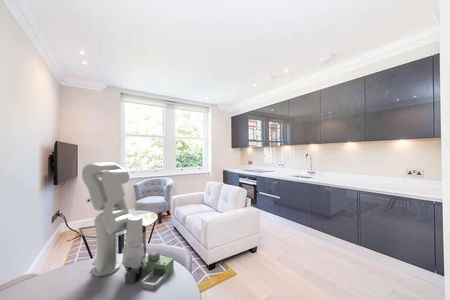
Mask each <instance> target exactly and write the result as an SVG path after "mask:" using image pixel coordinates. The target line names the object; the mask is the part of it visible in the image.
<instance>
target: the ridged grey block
mask: <svg viewBox="0 0 450 300" xmlns="http://www.w3.org/2000/svg"><path fill="white" fill-rule="evenodd" d="M139 269H140V268H139ZM136 273H137V271H136V268H132V269H131V270H129V271H128V272H127V271H126V273H124V284H127V285H130V286H131V285H132V286H133V285H134V284H135V283H136ZM143 274H144V273H143V270H142V271H141V278H142V277H143V276H144V275H143Z"/></svg>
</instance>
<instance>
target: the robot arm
mask: <svg viewBox="0 0 450 300" xmlns="http://www.w3.org/2000/svg"><path fill="white" fill-rule="evenodd" d="M81 178H82V181H83V183H84V185H85V187H86V188H87V190H88V193H89V196H90V201H91V203H92V207H93V209H94V210H95V211H97V212H100V213H99V214H98V215H96V217H95V218H94V227H95V234H96V242H95V243H96V251H95V254H96V255H95V257H96V258H95V259H94V261H93V262H92V263H91V265H92V266H94V269H93V270H92V275H93V276H94V277H106V276H109V275H111V274H113V273H115V272H116V271H117V270H118V269H120V265H123V267H124V268H125V271H126V273H127V272H128V271H129V270H131V269H132V268H136V271H137V273H136V282H138V281H139V280H141V279H142V277H141V271H142V270H143V269H144V268H145V267H146V266H147V264H146V263H145V253H144V246H143V244H142V225H143V218H142V217H141V216H136V215H134V214H132V213H129V209H128V206H127V203H126V201H125V198H124V197H125V196H126V195H125V194H126V193H125V191H124V187H123V185H122V184H127V183H129V180H130V174H129V172H128V170H127V169H125V168H124V167H122V166H121V165H119V164H117V163H115V162H93V163H88V164H86V165H85V166H84V167H83V168H82V171H81ZM124 231H125V240H124V241H125V245H124V247H123V252H122V261H121V264H120V262H118V261H117V252H118V250H117V249H118V248H117V245H118V244H117V243H118V240H117V239H118V236H117V234H119V233H121V232H124ZM139 268H140V269H139ZM136 282H135V283H136Z"/></svg>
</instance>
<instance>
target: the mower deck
mask: <svg viewBox="0 0 450 300" xmlns="http://www.w3.org/2000/svg"><path fill="white" fill-rule="evenodd" d="M145 263H146V264H147V266H146V267H145V268H144V269H143V274H146V275H145V277H144V278H143V279H142V280H141V281H140V282H139V287H141V288H145V289H148V290H154V291H155V290H157V289H158V287H159V286H161V285H162V283H163V282H164V281H165V280H166V279H167V278H168V276H170V274H171V273H173V271H174V258H173V257H168V256H161V252H160V251H159V250H153V251H150V252H149V253H147V255H146V257H145ZM154 276H157V277H159V278H158V280H157V281H156V282H155V283H153V282H149V280H151V279H152V277H154Z"/></svg>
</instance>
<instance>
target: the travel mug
mask: <svg viewBox="0 0 450 300" xmlns="http://www.w3.org/2000/svg"><path fill="white" fill-rule="evenodd" d="M142 244H143V246H144V253H145V257H146V256H147V254H146V252H147V226H146V225H143V224H142Z"/></svg>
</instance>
